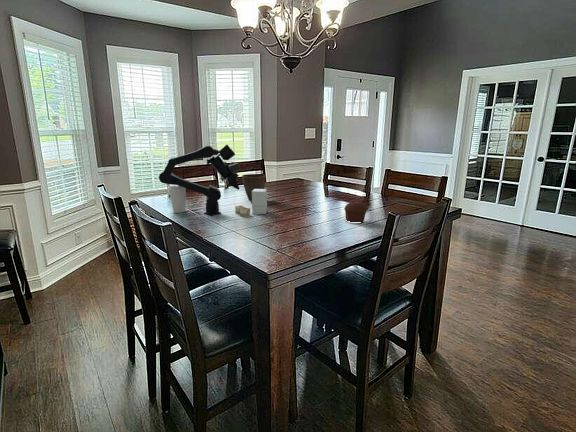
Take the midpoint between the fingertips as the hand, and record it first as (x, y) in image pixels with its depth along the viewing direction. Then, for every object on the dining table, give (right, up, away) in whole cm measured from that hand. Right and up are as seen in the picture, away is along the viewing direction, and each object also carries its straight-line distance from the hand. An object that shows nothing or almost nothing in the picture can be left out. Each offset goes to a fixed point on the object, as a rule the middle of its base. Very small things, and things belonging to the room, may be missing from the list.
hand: (238, 189), depth 184 cm
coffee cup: (-33, -12, +3) cm, 35 cm away
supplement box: (+11, -13, +4) cm, 17 cm away
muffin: (+61, -17, -11) cm, 64 cm away
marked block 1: (+1, -13, +1) cm, 13 cm away
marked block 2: (+4, -14, -4) cm, 15 cm away
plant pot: (+5, -5, +34) cm, 34 cm away
